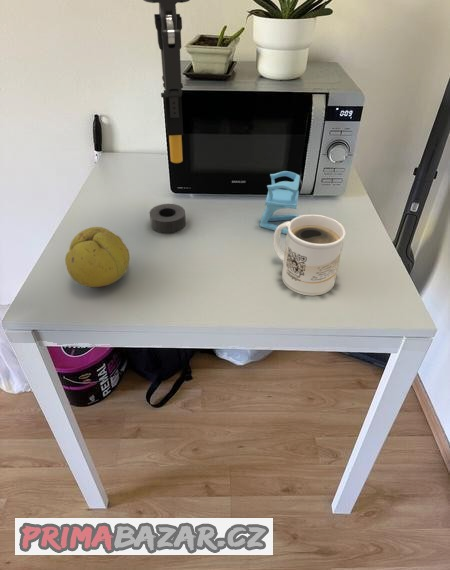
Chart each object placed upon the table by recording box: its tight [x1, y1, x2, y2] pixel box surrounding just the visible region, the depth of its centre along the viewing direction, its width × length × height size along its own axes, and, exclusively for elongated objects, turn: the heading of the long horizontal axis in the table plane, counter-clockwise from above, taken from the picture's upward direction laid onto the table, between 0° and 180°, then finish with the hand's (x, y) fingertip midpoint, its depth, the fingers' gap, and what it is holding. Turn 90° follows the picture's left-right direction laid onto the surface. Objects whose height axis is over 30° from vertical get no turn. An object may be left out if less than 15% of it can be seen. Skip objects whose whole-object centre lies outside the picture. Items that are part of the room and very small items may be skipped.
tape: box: [149, 203, 187, 235], centre depth 96 cm, size 8×8×3 cm
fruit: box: [64, 226, 130, 288], centre depth 78 cm, size 11×12×10 cm
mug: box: [272, 214, 346, 297], centre depth 80 cm, size 10×12×11 cm
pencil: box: [168, 135, 184, 164], centre depth 77 cm, size 2×2×15 cm
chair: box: [259, 170, 301, 235], centre depth 93 cm, size 8×8×12 cm
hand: (174, 131), depth 78 cm, fingers closed on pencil, 2 cm apart
